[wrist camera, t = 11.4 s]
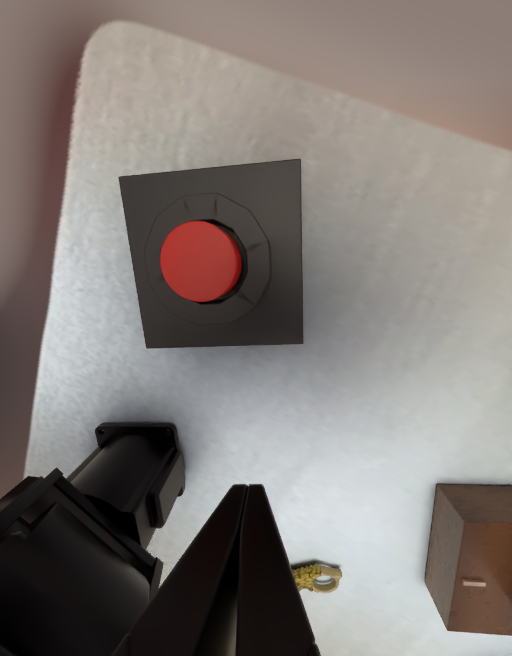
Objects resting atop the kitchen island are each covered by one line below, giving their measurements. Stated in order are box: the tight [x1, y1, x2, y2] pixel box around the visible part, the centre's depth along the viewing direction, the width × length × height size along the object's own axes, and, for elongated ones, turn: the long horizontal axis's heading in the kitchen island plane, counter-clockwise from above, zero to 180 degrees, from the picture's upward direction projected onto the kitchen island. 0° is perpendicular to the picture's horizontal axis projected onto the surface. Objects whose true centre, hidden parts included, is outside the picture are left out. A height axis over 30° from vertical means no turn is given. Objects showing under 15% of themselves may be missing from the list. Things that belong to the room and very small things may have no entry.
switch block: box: [119, 159, 303, 348], centre depth 15 cm, size 10×10×4 cm
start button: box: [160, 221, 242, 302], centre depth 12 cm, size 4×4×2 cm
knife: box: [292, 564, 342, 593], centre depth 23 cm, size 14×1×5 cm
